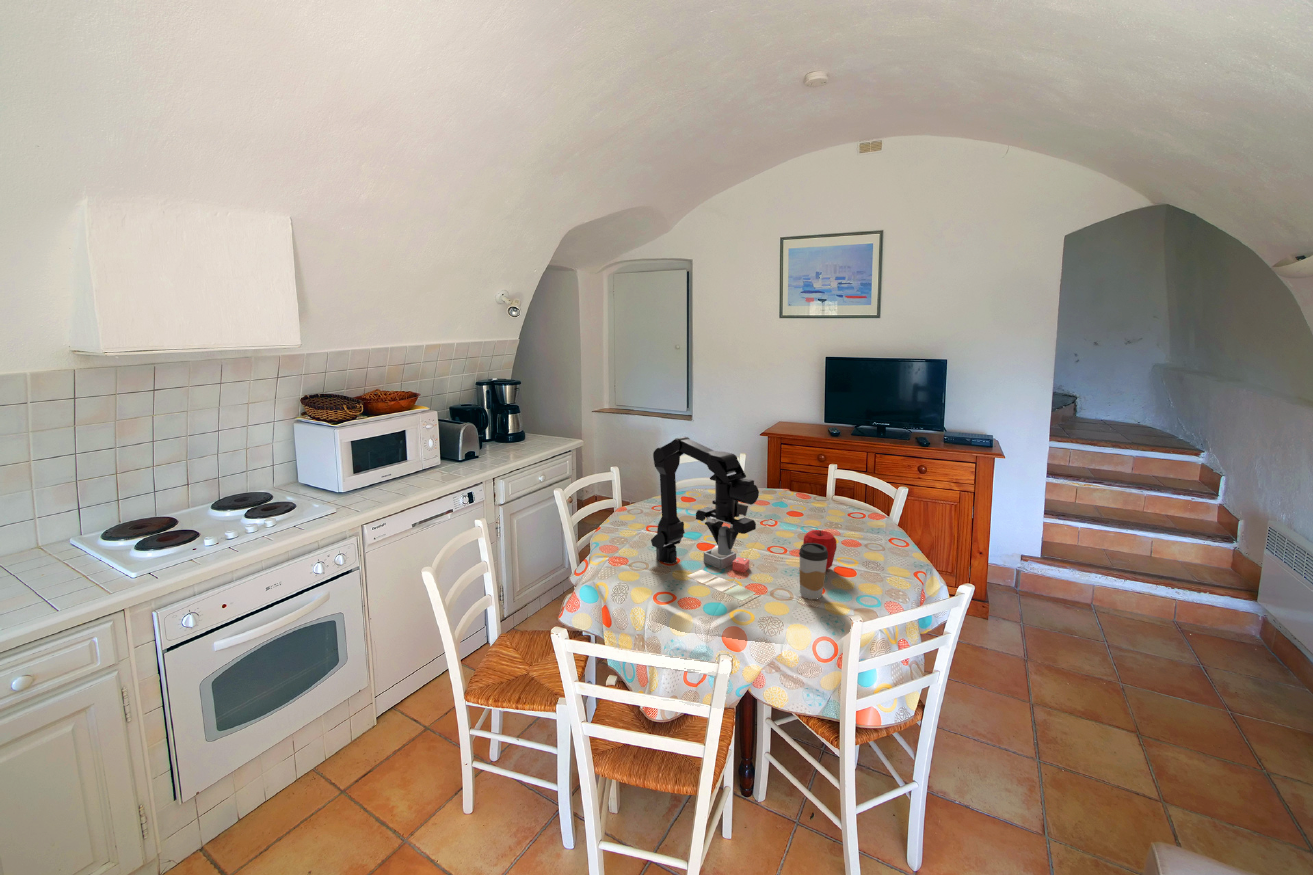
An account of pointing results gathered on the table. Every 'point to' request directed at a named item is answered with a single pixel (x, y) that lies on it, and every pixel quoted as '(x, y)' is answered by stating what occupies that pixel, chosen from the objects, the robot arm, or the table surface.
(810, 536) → the apple
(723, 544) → the pawn
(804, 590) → the coffee cup
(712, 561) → the dome housing
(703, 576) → the game board
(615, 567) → the table surface
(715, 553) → the dome
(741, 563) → the red die
